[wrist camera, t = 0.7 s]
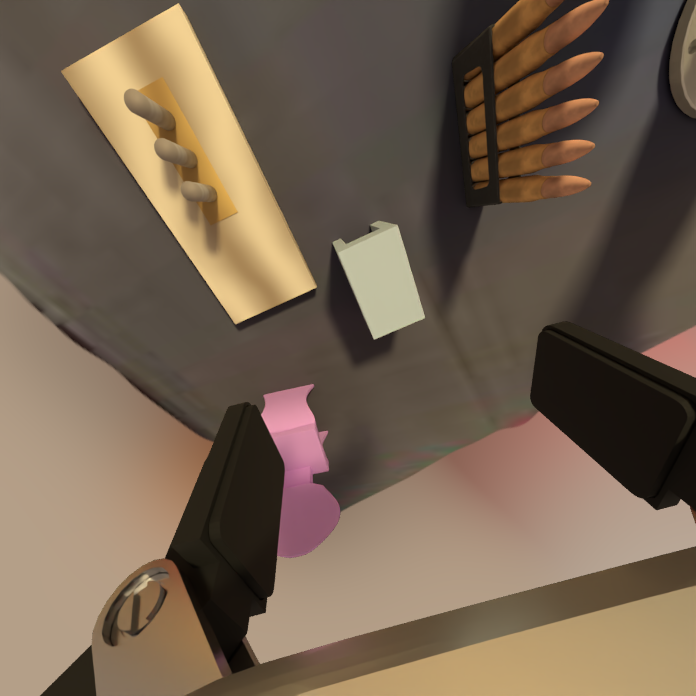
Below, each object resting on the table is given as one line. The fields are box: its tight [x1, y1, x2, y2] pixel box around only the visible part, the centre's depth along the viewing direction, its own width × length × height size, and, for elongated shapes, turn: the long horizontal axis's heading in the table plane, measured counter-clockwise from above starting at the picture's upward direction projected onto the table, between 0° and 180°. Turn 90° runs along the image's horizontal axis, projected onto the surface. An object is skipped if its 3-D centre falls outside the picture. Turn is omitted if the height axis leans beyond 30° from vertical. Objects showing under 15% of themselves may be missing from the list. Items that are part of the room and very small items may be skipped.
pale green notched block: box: [332, 221, 425, 340], centre depth 25 cm, size 5×8×6 cm, turn 23°
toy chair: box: [261, 384, 340, 558], centre depth 28 cm, size 8×9×15 cm
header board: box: [61, 3, 317, 324], centre depth 21 cm, size 9×20×5 cm, turn 23°
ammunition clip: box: [452, 0, 609, 207], centre depth 18 cm, size 11×2×12 cm, turn 19°
